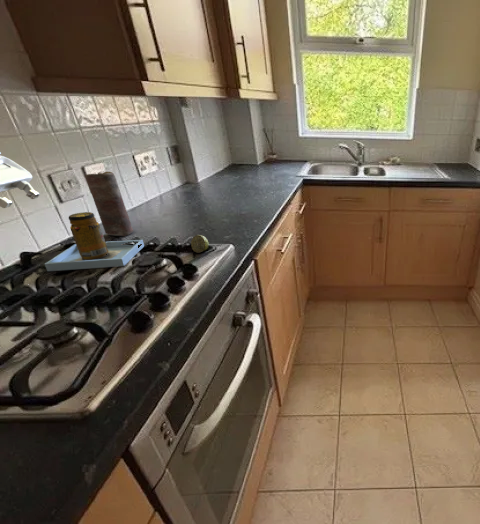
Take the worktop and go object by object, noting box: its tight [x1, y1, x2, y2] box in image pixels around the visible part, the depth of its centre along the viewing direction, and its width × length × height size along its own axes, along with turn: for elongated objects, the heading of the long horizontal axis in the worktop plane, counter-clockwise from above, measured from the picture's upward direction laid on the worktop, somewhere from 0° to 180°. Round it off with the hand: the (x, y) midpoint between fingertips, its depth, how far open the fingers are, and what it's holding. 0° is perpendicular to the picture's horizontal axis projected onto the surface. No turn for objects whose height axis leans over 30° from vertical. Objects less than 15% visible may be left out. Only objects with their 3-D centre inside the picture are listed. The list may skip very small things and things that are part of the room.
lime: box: [190, 234, 210, 254], centre depth 96 cm, size 4×5×5 cm
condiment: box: [68, 211, 122, 261], centre depth 89 cm, size 7×8×12 cm
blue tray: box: [44, 239, 145, 272], centre depth 91 cm, size 17×14×2 cm
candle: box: [84, 171, 134, 237], centre depth 104 cm, size 8×7×20 cm
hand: (23, 201), depth 83 cm, fingers open, 8 cm apart
